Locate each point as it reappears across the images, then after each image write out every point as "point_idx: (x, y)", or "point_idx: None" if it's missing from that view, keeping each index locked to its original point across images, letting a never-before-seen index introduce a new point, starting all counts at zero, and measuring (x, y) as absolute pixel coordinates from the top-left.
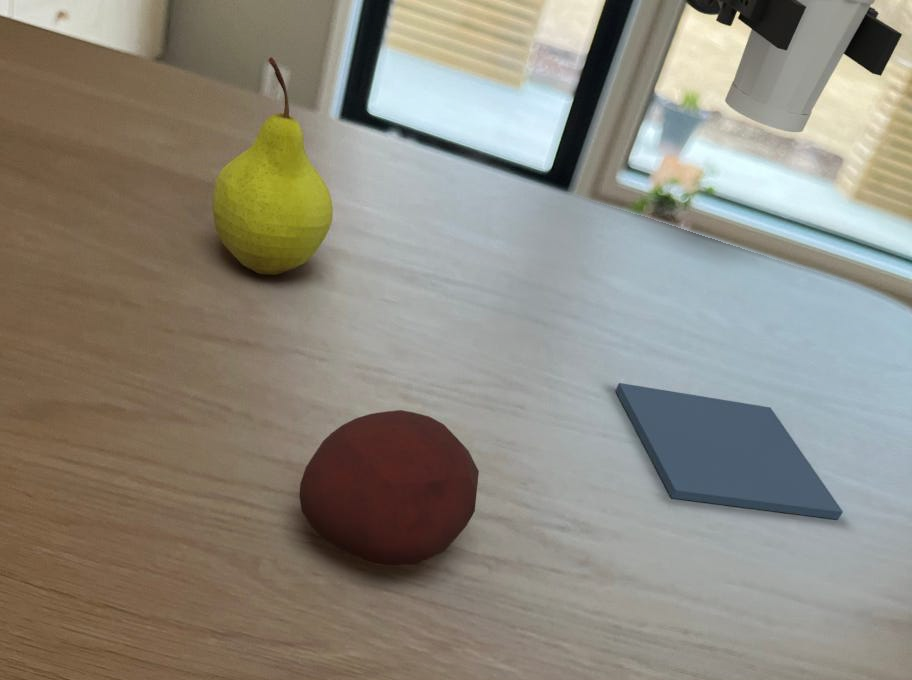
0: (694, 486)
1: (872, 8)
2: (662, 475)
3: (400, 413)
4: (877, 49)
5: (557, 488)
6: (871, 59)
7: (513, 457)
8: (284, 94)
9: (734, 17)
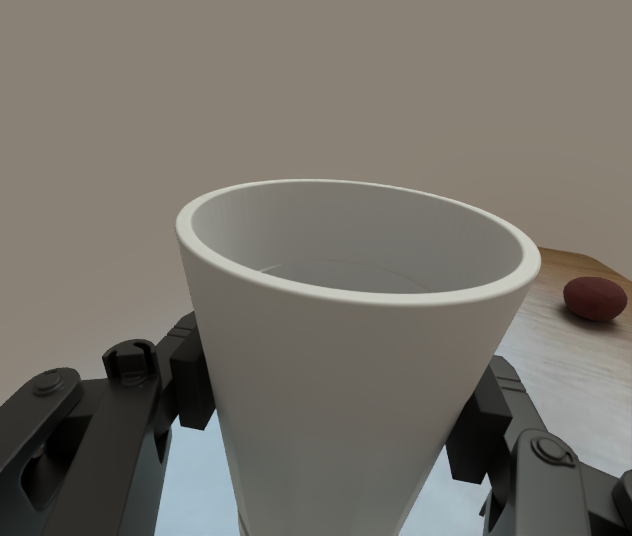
0: None
1: (51, 378)
2: None
3: (609, 288)
4: None
5: (522, 324)
6: None
7: (543, 338)
8: None
9: (487, 496)
